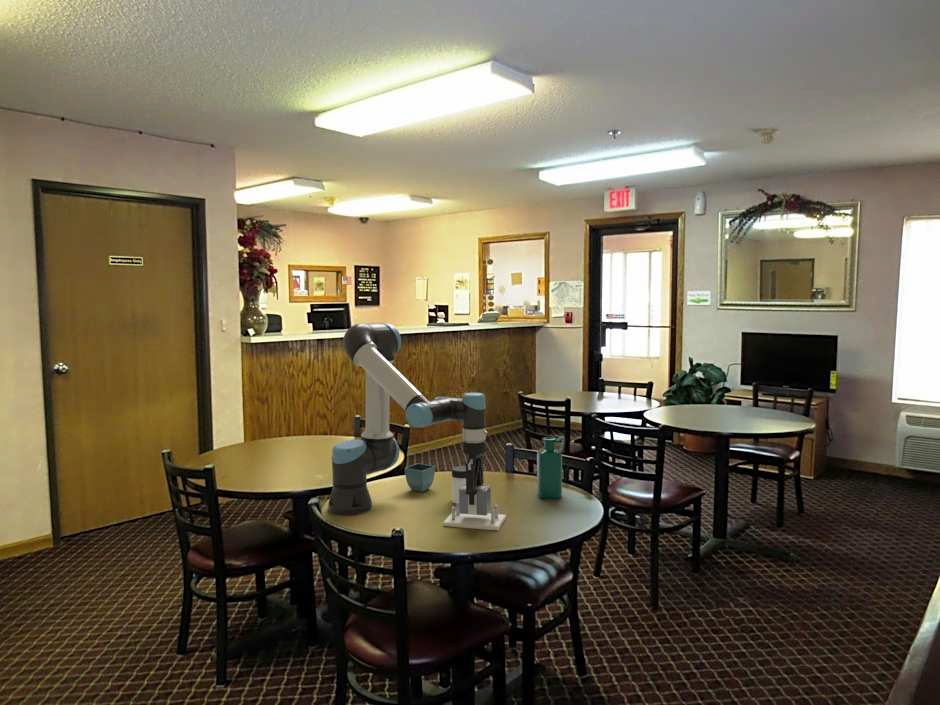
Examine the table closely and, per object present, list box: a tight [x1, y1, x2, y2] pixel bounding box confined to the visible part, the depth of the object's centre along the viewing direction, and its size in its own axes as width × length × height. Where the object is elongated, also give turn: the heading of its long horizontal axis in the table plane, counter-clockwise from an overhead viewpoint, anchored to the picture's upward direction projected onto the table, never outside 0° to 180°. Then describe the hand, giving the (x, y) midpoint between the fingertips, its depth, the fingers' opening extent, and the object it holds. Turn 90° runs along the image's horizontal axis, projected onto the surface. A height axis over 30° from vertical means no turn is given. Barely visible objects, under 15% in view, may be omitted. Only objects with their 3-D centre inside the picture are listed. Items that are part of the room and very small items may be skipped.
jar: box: [451, 465, 466, 504], centre depth 233 cm, size 9×8×12 cm
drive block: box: [459, 484, 492, 516], centre depth 210 cm, size 9×6×8 cm, turn 75°
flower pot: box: [404, 462, 436, 493], centre depth 248 cm, size 9×9×9 cm
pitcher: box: [536, 435, 566, 500], centre depth 239 cm, size 10×8×22 cm
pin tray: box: [442, 502, 507, 531], centre depth 211 cm, size 18×12×5 cm, turn 75°
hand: (475, 510), depth 211 cm, fingers closed on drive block, 6 cm apart
